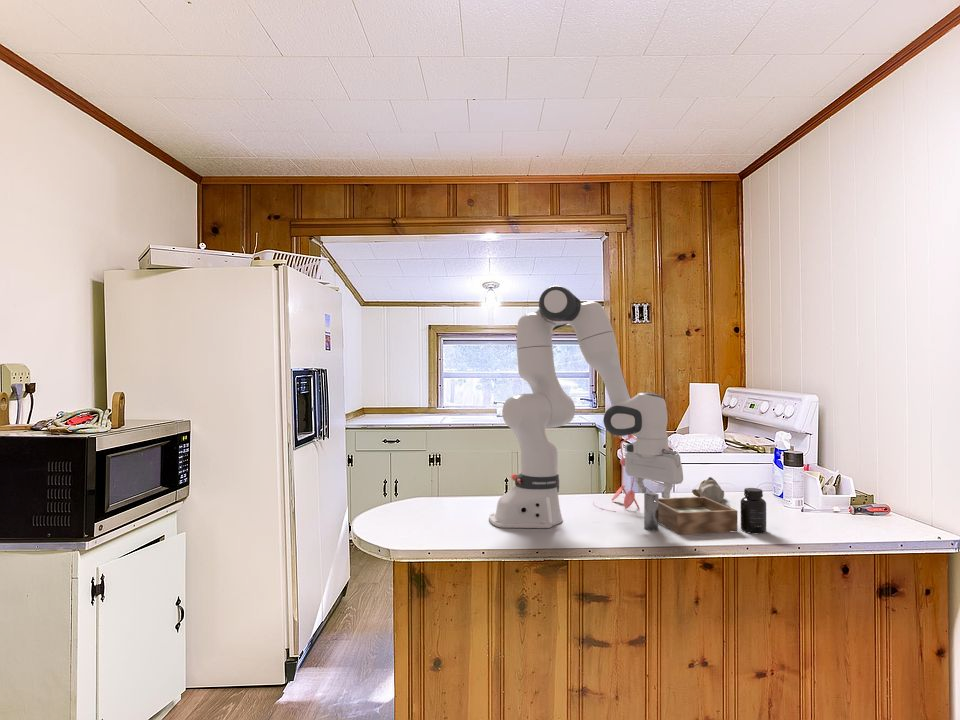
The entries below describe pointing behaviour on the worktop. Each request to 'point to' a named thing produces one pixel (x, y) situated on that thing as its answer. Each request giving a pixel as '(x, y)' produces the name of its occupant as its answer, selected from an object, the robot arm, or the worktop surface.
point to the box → (696, 515)
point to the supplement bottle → (753, 511)
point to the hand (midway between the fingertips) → (653, 495)
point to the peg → (651, 511)
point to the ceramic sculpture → (710, 490)
